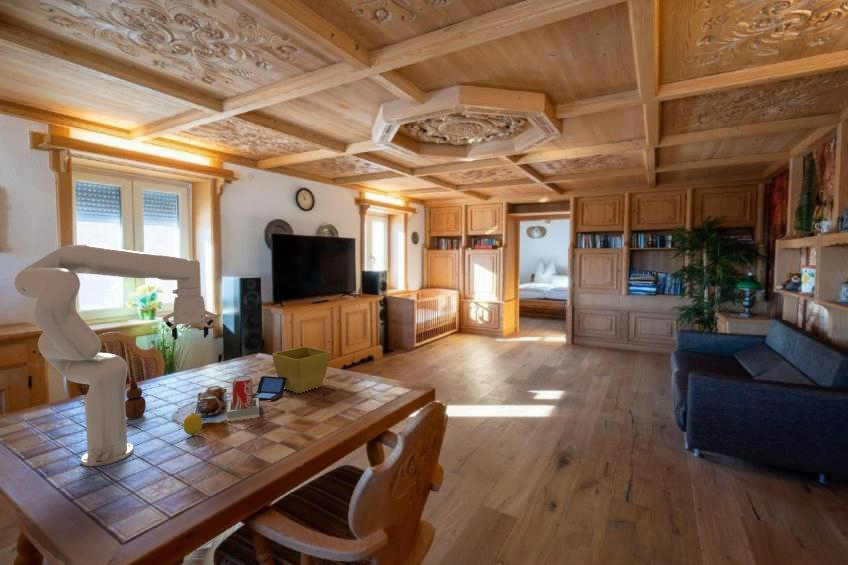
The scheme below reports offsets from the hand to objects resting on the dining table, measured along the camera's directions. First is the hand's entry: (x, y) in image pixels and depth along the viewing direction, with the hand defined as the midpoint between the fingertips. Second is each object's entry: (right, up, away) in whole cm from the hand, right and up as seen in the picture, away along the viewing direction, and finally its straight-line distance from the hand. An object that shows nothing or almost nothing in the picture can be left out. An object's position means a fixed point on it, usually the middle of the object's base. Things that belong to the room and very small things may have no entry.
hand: (190, 338), depth 150 cm
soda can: (+17, -29, +5) cm, 34 cm away
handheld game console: (+19, -29, +25) cm, 43 cm away
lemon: (+9, -32, -14) cm, 35 cm away
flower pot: (+31, -28, +36) cm, 55 cm away
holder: (+17, -30, +6) cm, 35 cm away
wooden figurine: (-22, -30, +1) cm, 37 cm away
